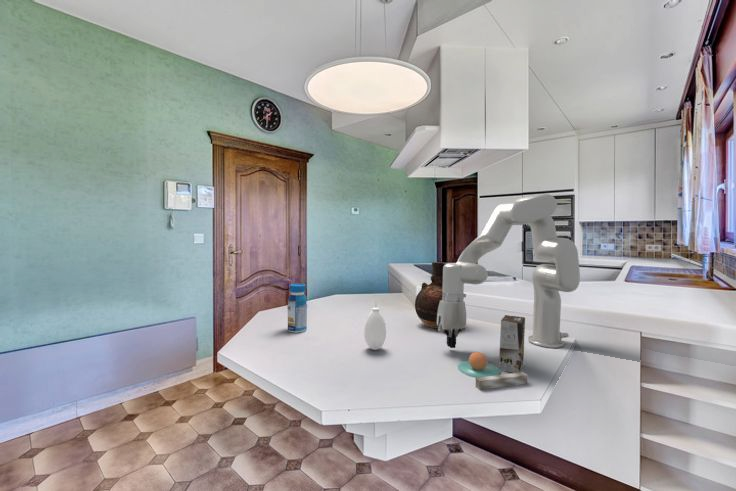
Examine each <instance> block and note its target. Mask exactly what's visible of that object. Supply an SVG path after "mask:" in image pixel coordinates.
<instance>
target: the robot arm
mask: <svg viewBox="0 0 736 491" xmlns="http://www.w3.org/2000/svg"><path fill="white" fill-rule="evenodd" d="M557 207H558V201H557V199H556V198H555V197H554V196H553V195H551V194H548V193H543V194H542V193H541V194H535V195H526V196H522V197H519V198H517V199H516V200H515V201H510V202H503V203H502V202H501V203H500V204H498V205H497V206H496V207H495V208H494V209H493V211H492V212H491V215H490V216H489V218H488V220H487V221H486V224H485V225H484V227H483V229H482V230H481V232H480V234H479V236H477V237H476V238H474V240H473V241H471V242H470V244H469V245H467V247H465V248H464V250H463V251H462V252H461V254H460V256H459V257H458V259H457V261H456V262H455V263H447V264H445V265H444V267H443V288H442V300H440V303H439V307H438V313H437V326H439V327H438V328H437V331H438V332H439V333H444V334H445V336H446V345H447V347H448V348H450V349H455V348H456V347H457V346H456V345H457V338H458V336H459V334H460V333H461V332H464V331H466V327H467V308H466V303H465V302H466V301H464V298H467V295H466V293H464V288H465V286H464V285H465V284H470V285H481V284H483V283H484V282H486V281H487V279H488V276H489V273H488V271H487V268H486V267H485V266H483V265H481V264H479V263H478V261H479V260H480V259H481V258H482V257H484V255H486V254H488V253H490V252H493V251H495V250H497V249H498V248H500V247H501V246H502V245H503V243H504V241H505V239H506V237H507V235H508V233H509V232H510V230H511V229H512V227H513V226H523V225H529V227H530V232H531V237H532V238H531V239H532V248H533V254H534V257H535V258H536V259H537V260H539V261H542V262H548V263H542V264H539V265H537V266H536V267H535V268H534V269H533V271H532V274H531V277H532V278H531V279H532V286H533V318H532V320H533V321H532V335H529V336H528V337H527V340H528V342H529V343H531V344H533V345H535V346H539V347H543V348H550V349H553V348H554V349H558V348H563V347H564V346H565V344H564V341H563V340H562V339H564V338H566V339H567V338H569V337H570V336H569V333H568V332H561V331H560V329H561V309H562V298H561V294H560V292H563V293H572V292H574V291H576V290H577V288H579V285H580V282H581V272H580V271H581V270H580V263H579V262H580V261H579V252H578V248H577V245H576V244H575V243H574V242H573V240H571V239H570V238H566V237H558V233H557V230H556V224H555V221H554V219H553V217H552V215H554V213H555V212H556V211H557ZM549 263H554V264H549Z"/></svg>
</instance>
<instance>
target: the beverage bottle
mask: <svg viewBox="0 0 736 491" xmlns="http://www.w3.org/2000/svg"><path fill="white" fill-rule="evenodd" d="M289 293H290V294H289V296H288V298H287V303H288V304H287V331H288V332H289V333H296V334H299V333H303V332H305V331H307V327H308V325H307V321H308V317H307V316H308V304H307V301H308V298H307V295H306V294H305V293H306V284H305V283H291V284H289Z"/></svg>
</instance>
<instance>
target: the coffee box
mask: <svg viewBox="0 0 736 491" xmlns="http://www.w3.org/2000/svg"><path fill="white" fill-rule="evenodd" d="M525 328H526V317H524V316H516V315H509V314H508V315H506V314H505V315H504V317H502V318H501V320H500V335H499V336H500V338H499V361H498V363H499V364H498V369H499V370H500V371H504V372H509V373H511V374H512V373H520V372H522V369H523V368H524V360H525V359H524V355H525V332H526V331H525V330H526V329H525Z"/></svg>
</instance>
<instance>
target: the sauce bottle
mask: <svg viewBox="0 0 736 491" xmlns="http://www.w3.org/2000/svg"><path fill="white" fill-rule="evenodd" d="M363 334H364V340H365V343H366V345H367V346H368V348H370V349H371V350H373V351H377V350H380V348H382V347H383V346H384V344H385V341H386V338H387V336H386V335H387V326H386V323H385V319H384V316H383V314H382V312H381V310H380V308H379V307H377V301H375V303H374V307H372V308H371V311H370V312H369V314H368V316H367V318H366V321H365V323H364V333H363Z"/></svg>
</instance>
